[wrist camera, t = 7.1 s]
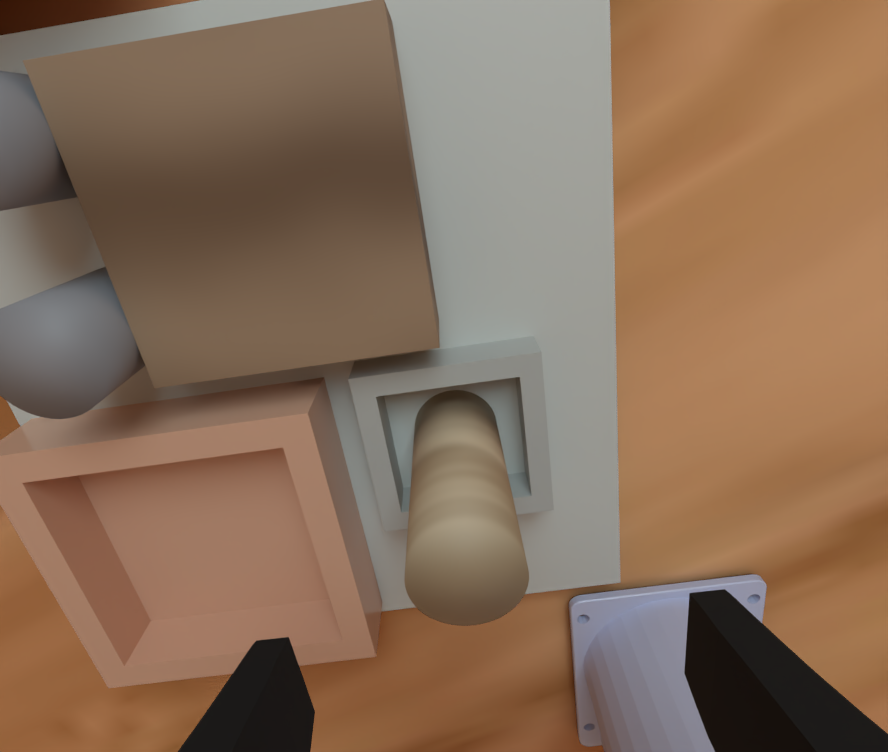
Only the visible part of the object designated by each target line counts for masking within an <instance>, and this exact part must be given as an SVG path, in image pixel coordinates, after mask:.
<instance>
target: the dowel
mask: <svg viewBox="0 0 888 752" xmlns="http://www.w3.org/2000/svg"><path fill="white" fill-rule="evenodd" d="M404 582H405V588H406V592H407V594H408V596H409V598H410V600H411V601H412V603H413V604H414V605H415V606H416V607H417V608H418V609H419V610H420V611H421V612H422V613H424V614H425V615H427V616H429V617H430V618H432V619H435V620H437V621H440V622H443V623H447V624H451V625H462V626H468V625H478V624H483V623H487V622H490V621H493V620H495V619H498V618H500V617H502V616H504V615H505V614H507V613H508V612H510V611H511V610H512V609H513V608H514V607H515V606H516V605H517V604H518V603H519V602H520V601H521V599H522V598H523V596H524V594H525V592H526V590H527V587H528V583H529V570H528V565H527V561H526V556H525V551H524V547H523V542H522V537H521V533H520V528H519V524H518V519H517V514H516V510H515V505H514V500H513V496H512V491H511V487H510V482H509V477H508V473H507V468H506V463H505V459H504V454H503V449H502V445H501V440H500V436H499V431H498V426H497V422H496V417H495V414H494V412H493V410H492V408H491V407H490V405H489V404H488V403H487V402H486V401H485V400H484V399H483V398H481V397H480V396H478V395H476V394H474V393H471V392H468V391H463V390H450V391H445V392H442V393H439V394H437V395H434V396H433V397H431V398H430V399H429V400H427V401H426V402H425V403H424V404H423V405H422V407H421V408H420V410H419V412H418V414H417V416H416V420H415V429H414V444H413V459H412V473H411V488H410V503H409V518H408V532H407V547H406V562H405V579H404Z"/></svg>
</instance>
